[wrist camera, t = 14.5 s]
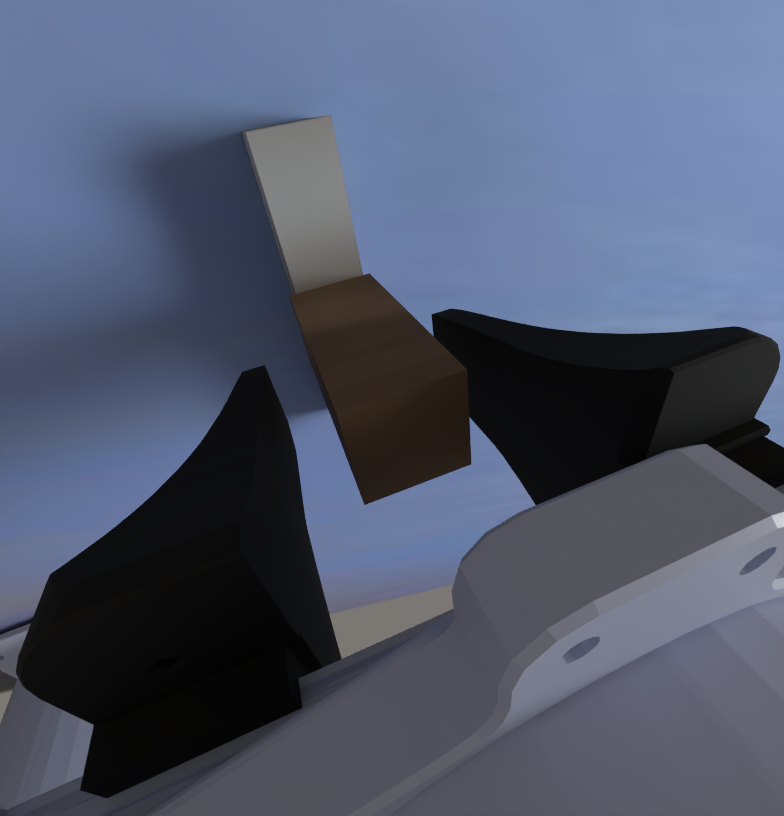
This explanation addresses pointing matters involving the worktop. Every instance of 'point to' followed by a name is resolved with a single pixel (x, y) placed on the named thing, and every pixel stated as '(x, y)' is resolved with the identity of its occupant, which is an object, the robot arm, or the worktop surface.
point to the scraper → (357, 322)
